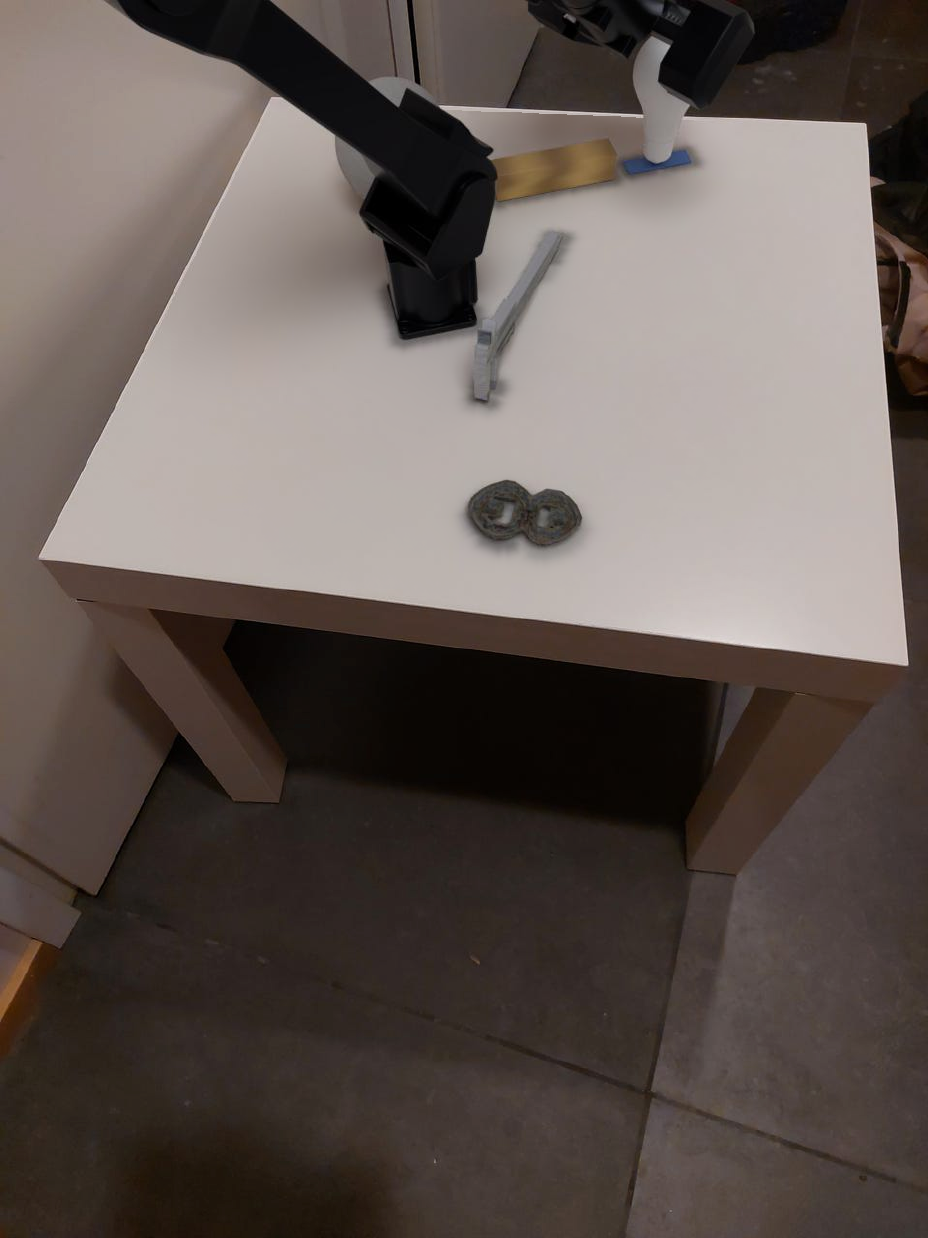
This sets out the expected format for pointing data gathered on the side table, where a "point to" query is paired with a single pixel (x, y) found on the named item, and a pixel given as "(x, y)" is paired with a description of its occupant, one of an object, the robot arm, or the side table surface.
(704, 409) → the side table surface
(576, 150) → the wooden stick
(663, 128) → the lightbulb
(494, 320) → the caliper
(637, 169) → the tape mark
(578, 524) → the corroded twin loop
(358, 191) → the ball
